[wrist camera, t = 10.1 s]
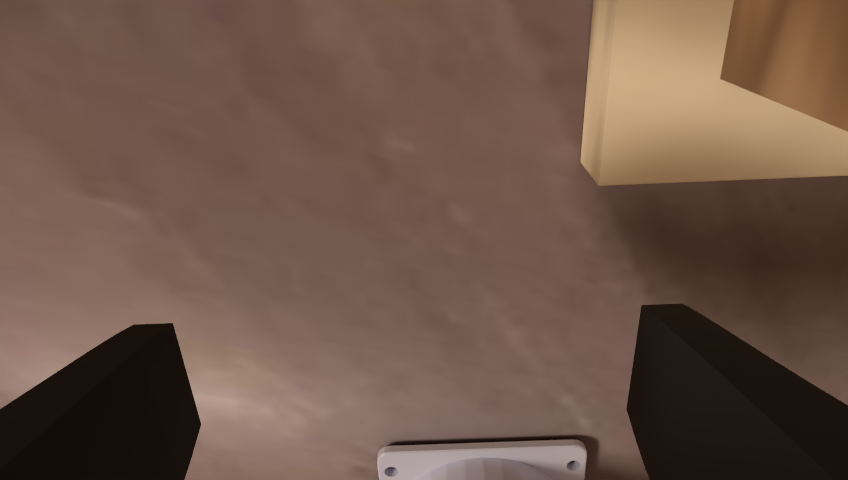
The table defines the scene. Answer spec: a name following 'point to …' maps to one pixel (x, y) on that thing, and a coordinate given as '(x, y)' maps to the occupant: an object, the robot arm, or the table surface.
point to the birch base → (687, 104)
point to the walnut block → (792, 54)
